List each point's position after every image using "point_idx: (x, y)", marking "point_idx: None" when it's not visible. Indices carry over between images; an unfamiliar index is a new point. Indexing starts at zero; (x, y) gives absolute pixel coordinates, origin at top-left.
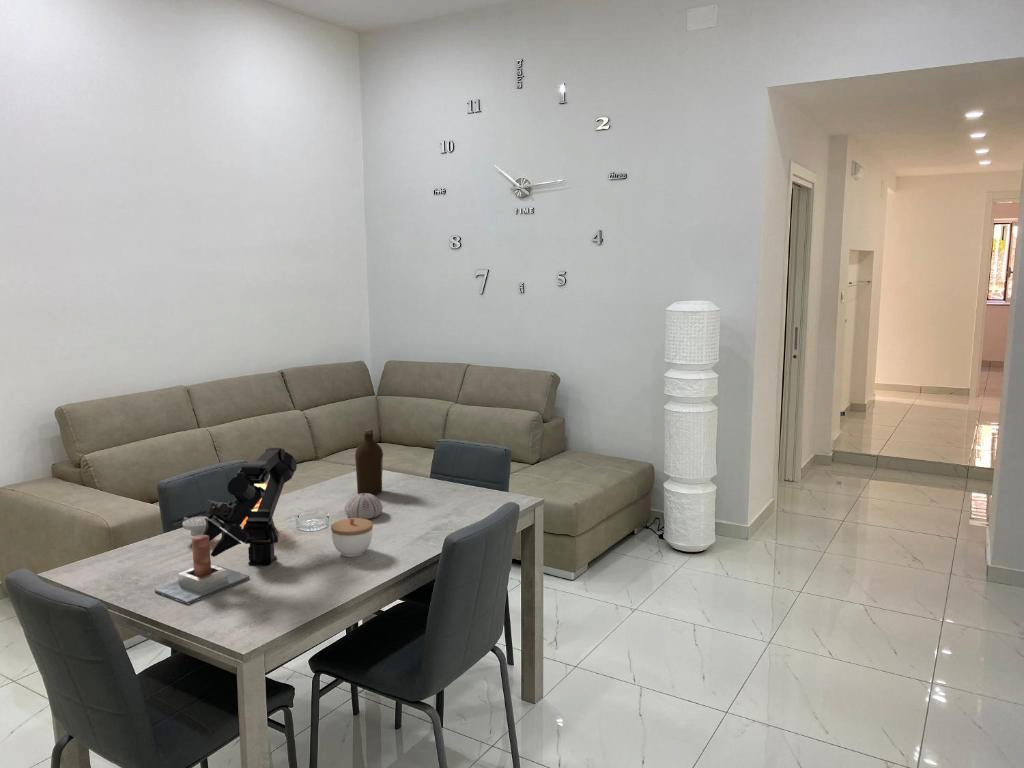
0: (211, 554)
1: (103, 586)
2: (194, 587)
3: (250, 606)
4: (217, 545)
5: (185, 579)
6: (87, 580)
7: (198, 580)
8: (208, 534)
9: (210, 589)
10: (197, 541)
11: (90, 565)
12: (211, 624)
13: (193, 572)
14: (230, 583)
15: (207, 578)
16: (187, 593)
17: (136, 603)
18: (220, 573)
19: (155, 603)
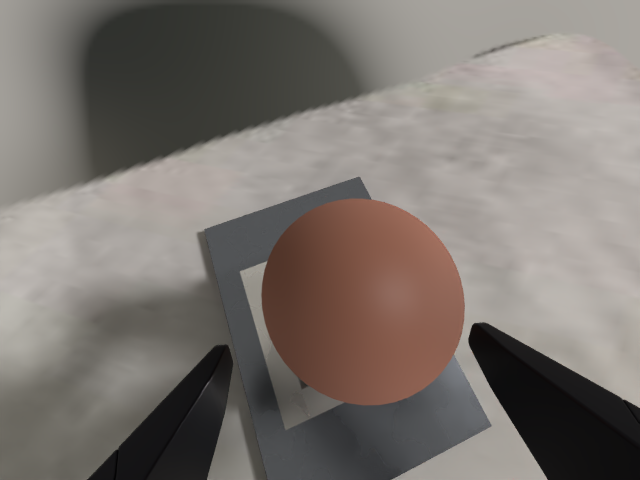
0: (214, 347)
1: (465, 98)
2: None
3: (21, 415)
4: (147, 432)
5: None
6: (521, 79)
7: (244, 271)
8: (591, 451)
9: (249, 320)
10: (286, 236)
11: (632, 95)
12: (23, 255)
13: None
14: (254, 412)
15: (253, 312)
16: (268, 245)
17: (310, 135)
18: (274, 385)
19: (280, 168)
